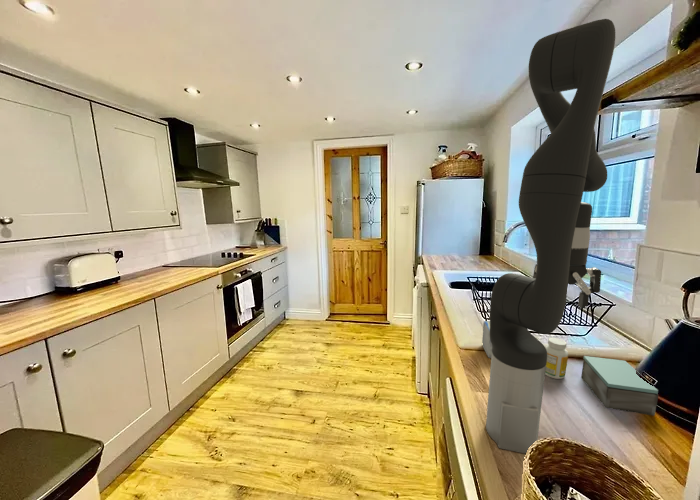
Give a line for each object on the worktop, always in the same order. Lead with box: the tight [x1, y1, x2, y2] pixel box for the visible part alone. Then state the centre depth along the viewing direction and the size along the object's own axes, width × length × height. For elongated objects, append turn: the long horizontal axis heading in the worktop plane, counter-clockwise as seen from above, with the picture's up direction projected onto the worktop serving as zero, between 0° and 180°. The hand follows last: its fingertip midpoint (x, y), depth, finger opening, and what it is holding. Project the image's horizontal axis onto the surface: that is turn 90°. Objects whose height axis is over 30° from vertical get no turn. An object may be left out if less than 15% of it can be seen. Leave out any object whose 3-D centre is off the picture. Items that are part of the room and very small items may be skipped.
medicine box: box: [481, 320, 492, 359], centre depth 91 cm, size 8×4×9 cm, turn 169°
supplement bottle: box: [544, 337, 569, 380], centre depth 80 cm, size 5×5×10 cm
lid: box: [582, 355, 659, 395], centre depth 71 cm, size 12×9×1 cm
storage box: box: [580, 359, 659, 417], centre depth 71 cm, size 12×9×5 cm
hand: (562, 305), depth 77 cm, fingers open, 8 cm apart
